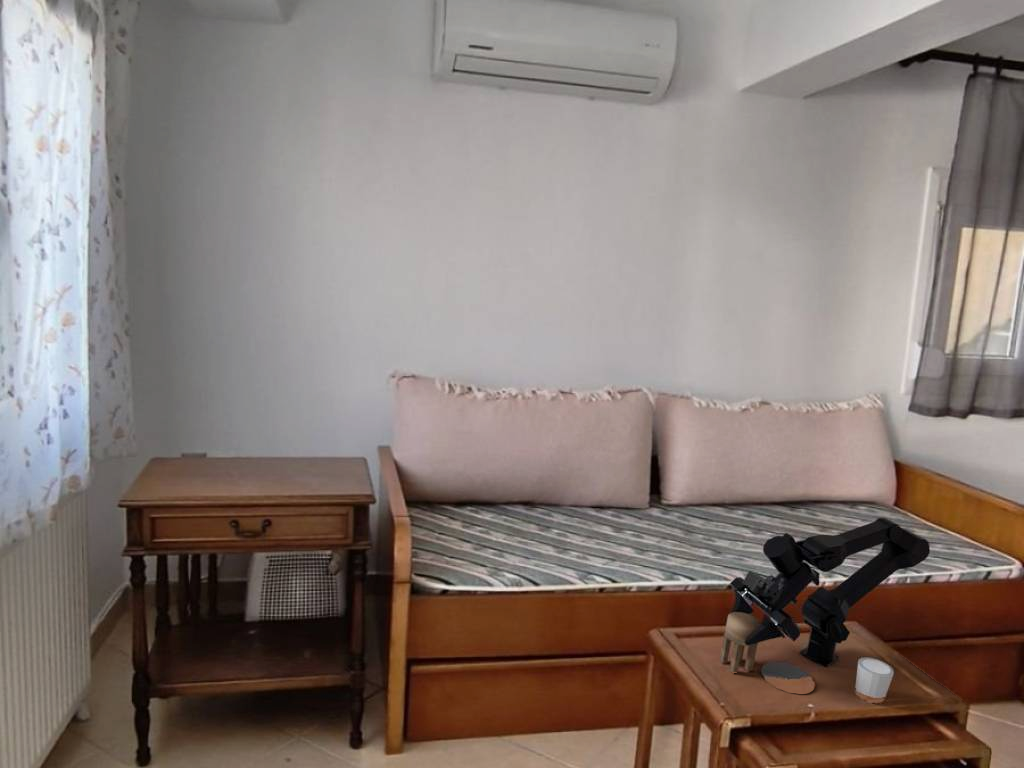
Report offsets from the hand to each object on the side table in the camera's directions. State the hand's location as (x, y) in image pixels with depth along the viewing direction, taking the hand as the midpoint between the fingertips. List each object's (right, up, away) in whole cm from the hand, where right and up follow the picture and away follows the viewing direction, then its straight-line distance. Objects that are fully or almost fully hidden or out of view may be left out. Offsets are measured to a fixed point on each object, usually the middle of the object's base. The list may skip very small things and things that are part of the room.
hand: (736, 635), depth 168 cm
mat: (+11, -9, -1) cm, 14 cm away
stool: (0, -7, +2) cm, 8 cm away
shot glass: (+27, -12, -4) cm, 29 cm away
